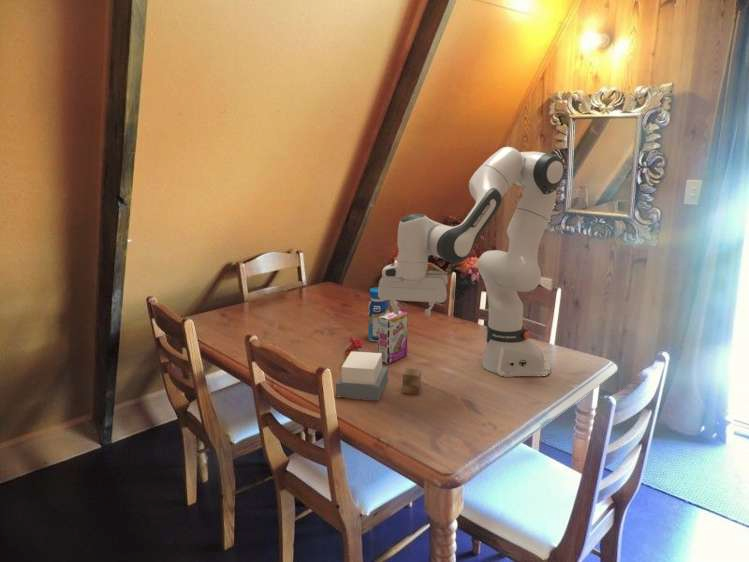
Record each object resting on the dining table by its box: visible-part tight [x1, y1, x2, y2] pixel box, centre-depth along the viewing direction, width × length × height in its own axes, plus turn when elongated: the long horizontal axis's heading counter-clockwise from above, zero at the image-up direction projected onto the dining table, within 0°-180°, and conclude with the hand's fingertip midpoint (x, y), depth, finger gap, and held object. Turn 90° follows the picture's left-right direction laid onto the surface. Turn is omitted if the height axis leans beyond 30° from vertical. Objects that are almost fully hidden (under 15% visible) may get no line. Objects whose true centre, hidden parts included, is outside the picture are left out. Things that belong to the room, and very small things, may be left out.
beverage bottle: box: [367, 286, 391, 343], centre depth 214 cm, size 8×8×20 cm
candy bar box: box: [377, 310, 409, 365], centre depth 195 cm, size 11×5×16 cm, turn 141°
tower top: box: [340, 351, 383, 385], centre depth 172 cm, size 10×13×5 cm
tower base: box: [335, 366, 389, 402], centre depth 173 cm, size 13×15×5 cm
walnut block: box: [401, 367, 422, 395], centre depth 172 cm, size 5×5×6 cm
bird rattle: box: [342, 336, 365, 362], centre depth 189 cm, size 6×11×9 cm
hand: (411, 314), depth 166 cm, fingers open, 8 cm apart
